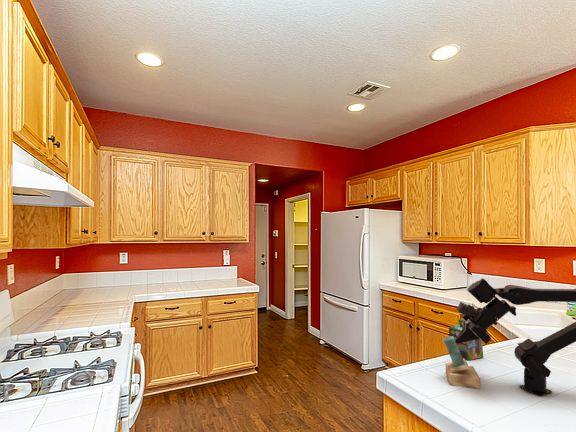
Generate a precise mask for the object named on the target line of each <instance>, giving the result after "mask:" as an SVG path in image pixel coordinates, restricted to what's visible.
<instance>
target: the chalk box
mask: <svg viewBox="0 0 576 432" xmlns="http://www.w3.org/2000/svg"><path fill="white" fill-rule="evenodd" d="M462 321H464V322H466V321H465V320H464V319H460V318H459V319H458V324H456V325H451V326H448V337H450V336H453V337H454V339H456V338H457V336H458V335H459V333H460V332H461V330H462V328H463V322H462ZM456 344H457V343H456ZM457 346H458V349H459V351H460V354H461V356H462V358H464V359H465V360H466V362H467V361H472V360H476V359H481V358H484V351H483V350H484V346H483V341H482V340H481V339H480V340H479V339H478V340H472V341H467V342H463V343H458V344H457Z"/></svg>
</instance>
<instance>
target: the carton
mask: <svg viewBox="0 0 576 432" xmlns="http://www.w3.org/2000/svg"><path fill="white" fill-rule="evenodd" d="M468 366H469V369H465V370H460V371H456V372H452V373H451V371H450V368H449V366H448V363H447V362H445V375H446V378H447V380H448V383H449V385H450V386H455V387H461V388H462V387H463V388H470V389H477V390H480V389H481V377H480V376H479V374H478V372H477V371H476V369H475V367H474V366H473V365H468Z"/></svg>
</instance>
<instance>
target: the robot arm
mask: <svg viewBox="0 0 576 432" xmlns="http://www.w3.org/2000/svg"><path fill="white" fill-rule="evenodd" d="M466 291H467V292H468V293H469V294H470V295H471V296H472V297H473V298H475V300H477V301H478V303H480V304H483V303H484V304H485V305H484V306H483V307H477V308H475V306H473V305H471V304H467V303H464V302H462V301H460V302H459V304H458V306H457V308H456V310H457V312H458V313H460V317H461V318H462V320H464V321H466V322H464V321H462V322H463V323H462V325H463V328H462V330H461V332H460V333H459V335H458V336H457V338H456V339H455V342H456V343H457V344H458V343H463V342H467V341H472V340H478V339H479V340H480V339H481V340H482V343H484V344H486V345H487V344H489V343H490V341H491V338H492V337H491V335H490V334H489V333H488V329H489V328H491V326H493V325H495V326H497V325H498V324H499V323H498V321H499V320H500V319H502V318H503V317H504V316H505V315H507V314H508V313H510V314H511V315H513V316H515V317H516V316H517V307H516V305H517V306H522V305H529V304H532V303H537V302H538V303H539V302H550V303H551V302H554V303H557V302H559V303H561V302H563V303H576V288H532V287H526V286H521V285H516V284H515V285H514V284H507V285H505V286H504V287H500V288H499V287H498V288H494V287H493V286H491V284H489V283H488V281H487V280H486V278H483V277H482V278H481V279H479V280H477V281H475V282H473V283H471V284H470V286H468V288H467V290H466ZM497 296H498V297H500V298H501V300H500V299H499V298H498V297H497ZM508 302H509V303H508ZM511 304H512V305H511ZM514 305H515V306H514ZM574 343H576V321H574V322H573V323H571V324H568V325H567V326H565V327H564V328H563V327H562V328H561V329H559V330H557V331H555V332H554V333H551V334H550V335H547V336H546V337H544V338H542V339H540V340H537V341H533V340H532V339H530V338H527V339H525V340H524V341H522V342H518V343H517V346H516V347H515V348H514V351H513V352H514V356H515V358H516V359H517V360H518V361H519V362H520V364H521V365H522V366H523V367H524V368H523V369H524V370H523V384H521V385H519V388H520V389H522V390H523V391H527V392H530V393H532V394H534V395H537V396H538V397H542V396H546V395H549V394H552V392H553V391H552V389H548V388H547V378H549V377H550V376H551V374H552V371H551V370H550V369H549V367H548V366H546V365H545V364H546V363H547V361H548V360H549V358H550V357H551V356H552V355H554V354H555V353H556V352H558V351H560V350H562V349H565V348H567V347H568V346H570V345H573V344H574Z"/></svg>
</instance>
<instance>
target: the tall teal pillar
mask: <svg viewBox="0 0 576 432" xmlns="http://www.w3.org/2000/svg"><path fill="white" fill-rule="evenodd" d="M442 340H443V343H444V345H445V348H446V350H447V352H448V355H449V357H450V359H451V360H450V361H447V362H446V363H448V366H449V368H450V371H451V373H452V372H456V371H460V370H465V369H469V366H470V365H469V364H468V363H467V360H465V359H464V358H462V356H461V354H460V351H459V349H458V346H457V344H456V342H455V339H454V337H453V336H450V337H449V336H446V337H442Z"/></svg>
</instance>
